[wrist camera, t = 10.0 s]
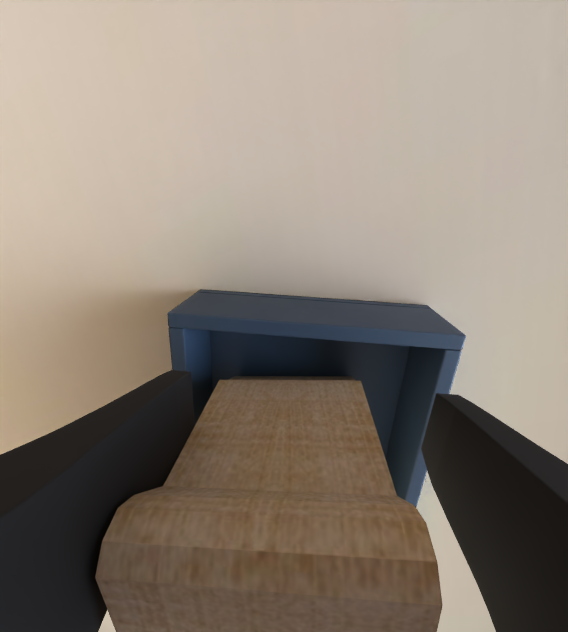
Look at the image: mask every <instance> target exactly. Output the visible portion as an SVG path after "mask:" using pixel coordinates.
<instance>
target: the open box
mask: <svg viewBox="0 0 568 632" xmlns="http://www.w3.org/2000/svg"><path fill="white" fill-rule="evenodd" d="M167 315H168V326H169V338H170V348H171V359H172V370H176V371H188V372H191V379H192V393H193V408H194V422H195V425H196V423H197V421H198V419H199V417H200V415H201V414H202V412H203V410H204V408H205V406H206V404H207V402H208V400H209V398H210V397H211V395H212V393H213V391H214V389H215V387H216V385H217V383H218V382H219V380H229V379H230V378H232V377H234V376H352V377H353V378H354V379H355V381H361V383H362V386H363V389H364V392H365V396H366V399H367V402H368V405H369V408H370V411H371V415H372V418H373V421H374V424H375V427H376V431H377V434H378V437H379V440H380V443H381V446H382V450H383V453H384V456H385V459H386V462H387V466H388V469H389V472H390V475H391V478H392V481H393V485H394V488H395V491H396V494H397V496H398V497H400V498H402V499H404V500H405V501H407V502H409V503H411V504H413V505H414V506H415V508H416V506H417V503H418V499H419V496H420V492H421V489H422V486H423V482H424V479H425V475H426V472H427V468H426V464H425V461H424V458H423V454H422V451H421V447H422V443H423V439H424V436H425V432H426V428H427V425H428V421H429V417H430V414H431V410H432V406H433V403H434V399H435V395H436V393H441V394H449V393H450V390H451V386H452V383H453V379H454V376H455V372H456V369H457V366H458V362H459V359H460V355H461V350H462V348H463V345H464V342H465V338H466V336H465V335H464V334H463V333H462V332H461V331H459V330H458V329H457V328H455V327H454V326H453V325H452V324H450V323H449V322H448V321H446V320H445V319H444V318H443V317H441V316H440V315H439V314H438V313H436V312H435V311H434V310H432V309H431V308H430V307H429V306H427V305H415V304H401V303H387V302H372V301H358V300H344V299H330V298H315V297H301V296H287V295H273V294H258V293H244V292H230V291H216V290H202V289H201V290H199V291H198V292H197V293H195V294H194V295H192V296H191V297H189V298H188V299H187V300H185V301H184V302H182V303H181V304H180V305H178V306H177V307H175V308H174V309H173V310H171V311H170V312H168V314H167Z"/></svg>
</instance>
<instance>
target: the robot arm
mask: <svg viewBox="0 0 568 632" xmlns="http://www.w3.org/2000/svg"><path fill="white" fill-rule="evenodd" d="M194 427H195V422H194V408H193V393H192V379H191V372H188V371H176V370H170V371H168V372H166V373H164V374H162V375H160V376H158V377H156V378H154V379H152V380H151V381H149V382H147V383H145V384H143V385H142V386H140V387H138V388H136V389H134V390H132V391H131V392H129V393H127V394H125V395H123V396H122V397H120V398H118V399H116V400H114V401H112V402H111V403H109V404H107V405H105V406H103V407H101V408H99V409H97V410H95V411H93V412H91V413H89V414H87V415H85V416H83V417H81V418H79V419H77V420H75V421H73V422H72V423H70V424H68V425H66V426H64V427H62V428H60V429H57V430H55V431H53V432H51V433H49V434H47V435H45V436H42V437H40V438H38V439H36V440H34V441H31V442H29V443H27V444H25V445H22V446H20V447H18V448H15V449H13V450H11V451H8V452H6V453H4V454H1V455H0V632H98V630H99V628H100V626H101V623H102V621H103V618H104V616H105V614H106V611H107V607H106V604H105V602H104V599H103V596H102V594H101V591H100V589H99V586H98V584H97V581H96V578H95V576H96V571H97V565H98V560H99V555H100V550H101V544H102V540H103V538H104V536H105V534H106V532H107V530H108V528H109V526H110V524H111V521H112V519H113V517H114V515H115V513H116V511H117V509H118V507H120V506H121V505H122V504H123V503H125V502H126V501H127V500H128V499H129V498H131V497H132V496H133V495H135V494H139V493H142V492H145V491H148V490H152V489H155V488H158V487H162V486H163V485H164V483H165V481H166V480H167V478H168V476H169V474H170V472H171V470H172V468H173V466H174V464H175V463H176V461H177V459H178V457H179V455H180V453H181V451H182V449H183V448H184V446H185V444H186V442H187V440H188V438H189V436H190V434H191V432H192V431H193V429H194ZM421 451H422V454H423V458H424V461H425V464H426V468H427V471H428V474H429V477H430V480H431V483H432V486H433V488H434V490H435V492H436V495H437V497H438V499H439V501H440V504H441V506H442V508H443V510H444V513H445V515H446V517H447V519H448V521H449V523H450V526H451V528H452V530H453V532H454V534H455V537H456V539H457V541H458V543H459V545H460V547H461V550H462V552H463V554H464V556H465V558H466V560H467V563H468V565H469V567H470V569H471V571H472V574H473V576H474V578H475V580H476V582H477V585H478V587H479V589H480V592H481V594H482V596H483V599H484V601H485V604H486V606H487V608H488V611H489V614H490V616H491V619H492V622H493V624H494V627H495V630H496V632H568V464H567V463H565V462H564V461H562V460H560V459H559V458H557V457H556V456H554V455H552V454H551V453H549V452H548V451H546V450H545V449H543V448H541V447H540V446H538V445H537V444H535V443H534V442H532V441H531V440H529V439H527V438H526V437H524V436H523V435H521V434H520V433H518V432H517V431H515V430H514V429H512V428H511V427H509V426H507V425H506V424H504V423H503V422H501V421H500V420H498V419H497V418H495V417H494V416H492V415H491V414H489V413H488V412H486V411H484V410H483V409H481V408H480V407H478V406H476V405H475V404H473V403H472V402H470V401H468V400H466V399H465V398H463V397H461V396H459V395H452V394H441V393H436V395H435V399H434V403H433V406H432V410H431V414H430V417H429V421H428V425H427V428H426V432H425V436H424V439H423V443H422V447H421Z"/></svg>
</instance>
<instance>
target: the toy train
mask: <svg viewBox="0 0 568 632" xmlns="http://www.w3.org/2000/svg"><path fill="white" fill-rule="evenodd" d="M95 578H96V581H97V584H98V586H99V589H100V591H101V594H102V596H103V599H104V602H105V604H106V607H107V609H108V612H109V614H110V617H111V620H112V622H113V625H114V627H115V630H116V632H437V628H438V623H439V619H440V614H441V610H442V598H441V590H440V582H439V573H438V565H437V560H436V556H435V553H434V549H433V546H432V542H431V539H430V535H429V532H428V528H427V525H426V522H425V521H424V519H423V518H422V516H421V515H420V513H419V512H418V510H417V509H416V508H415V506H414V505H413V504H411V503H409V502H407V501H405V500H404V499H402V498H400V497H398V496H397V494H396V491H395V488H394V485H393V481H392V478H391V475H390V472H389V469H388V466H387V462H386V459H385V456H384V453H383V450H382V446H381V443H380V440H379V437H378V434H377V431H376V427H375V424H374V421H373V418H372V415H371V411H370V408H369V405H368V402H367V399H366V396H365V392H364V389H363V386H362V383H361V381H355V379H354V378H353V377H352V376H234V377H232V378H230V379H229V380H219V382H218V383H217V385H216V387H215V389H214V391H213V393H212V395H211V397H210V398H209V400H208V402H207V404H206V406H205V408H204V410H203V412H202V414H201V415H200V417H199V419H198V421H197V423H196V425H195V427H194V429H193V431H192V432H191V434H190V436H189V438H188V440H187V442H186V444H185V446H184V448H183V449H182V451H181V453H180V455H179V457H178V459H177V461H176V463H175V464H174V466H173V468H172V470H171V472H170V474H169V476H168V478H167V480H166V481H165V483H164V485H163V486H162V487H158V488H155V489H152V490H148V491H145V492H142V493H139V494H135V495H133V496H132V497H131V498H129V499H128V500H127V501H126V502H125V503H123V504H122V505H121V506H120V507H118V509H117V511H116V513H115V515H114V517H113V519H112V521H111V524H110V526H109V528H108V530H107V532H106V534H105V536H104V538H103V540H102V544H101V550H100V555H99V560H98V565H97V571H96V576H95Z"/></svg>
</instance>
